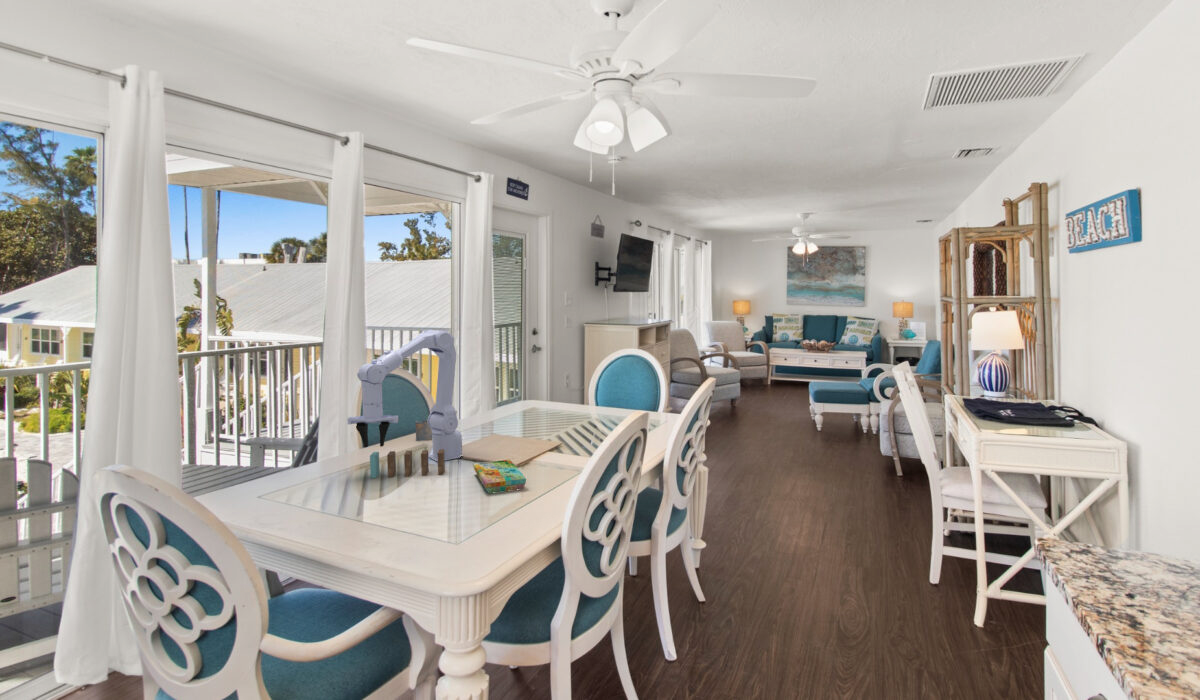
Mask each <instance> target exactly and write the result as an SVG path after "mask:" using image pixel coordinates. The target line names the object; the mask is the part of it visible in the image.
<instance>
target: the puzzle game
mask: <svg viewBox="0 0 1200 700" xmlns="http://www.w3.org/2000/svg"><path fill="white" fill-rule="evenodd" d="M472 468H473V470H474V471H475V473H476V475H477V477H478V478H479V480H480V482H481V484H482V485H483V487H484V489H485V490H486V491H487V493H488V494H489V493H491V494H494V493H493V492H499V493H501V492H500V491H506V492H509V491H508V490H514V491H518V490H517V489H521V490H522V489H523V487H525V485H526V483H527V478H526V476H525V475H524V474H523V472H521V470H520V469H519V468H518V467H517V466H516V465H515V464H514V463H513V461H512V460H510V459H505V460H504V459H503V460H494V461H485V462H477V463H476V462H475V463H473V464H472Z"/></svg>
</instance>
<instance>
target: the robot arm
mask: <svg viewBox="0 0 1200 700" xmlns="http://www.w3.org/2000/svg"><path fill="white" fill-rule="evenodd" d="M454 342H455V337H454V336H453V335H452V334H451V333H450V332H449V331H448V330H436V329H425V330H424V331H423V332H420V333H418V334H417V336H415V337H414V338H412V339H411V340H410V341H409V342H407V343H405V344H404V345H403V346H401V347H400V348H398V349H397V350H394V349H393V350H392V349H390V350H385V351H384V353H383V354H382V355H381V356H379V357H377V358H376V359H375V358H374V359H373V358H372V359H371V362H370V363H365V364H362V365H361V366H360V367H359V369H358V372H357V374H356V376H357V378H358V379H359V381H360V382H361V395H362V397H361V399H362V415H358V416H349V417H348V418H347V419H346V420H347V425H356V426H355V429H356V430H357V432H358V433H359V435H360V437H361V439H362V442H363V447H364V448H368V446H369V434H368V433H369V431H368V430H369V429H368V428H369V424H378V431H379V447H384V446H385V440H386V435H387V433H388V430H389V427H390V424H392V423H393V424H397V423H399V415H389V414H384V411H383V410H384V409H383V408H384V407H383V385H382V383H383V381H384V380H385V378H386V376H387V375H388V374H390V373H391V372H394V371H395V370H396V369H398V368H399V367H401V366H402V364H403V360H405V359H407V358H409V357H410V356H413V355H414V354H415V353H417V352H419V351H421V350H422V349H428V350H430V351H432V352H433V353H434V354H435V355H436V357H438V359H439V360H438V361H439V362H438V370H437V371H438V372H437V381H436V383H437V384H436V393H435V394H436V395H435V404H434V405H433V406H432V407H431V408H430V413H429V415H428V416H427V419H426V421H427V423H428V426H429V427H430V428H431V432H432V440H431V441H432V444H431V445H432V446H431V447H432V454H430V455H429V454H428V458H429V459H431V460H433V461H435V462H437V463H438V454H437V453H438V451H439V449H444V455H445V461H449V460H454V459H460V457H461V456H460V455H463V439H462V435H461V432H460V431H459V430H457V428H458V425H459V420H458V417H457V410H456V408H455V406H453V400H454V398H453V397H454V386H455V385H454V384H455V377H456V374H455V373H456V365H457V364H456V362H457V350H456V347H455V343H454ZM461 458H462V457H461Z"/></svg>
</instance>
